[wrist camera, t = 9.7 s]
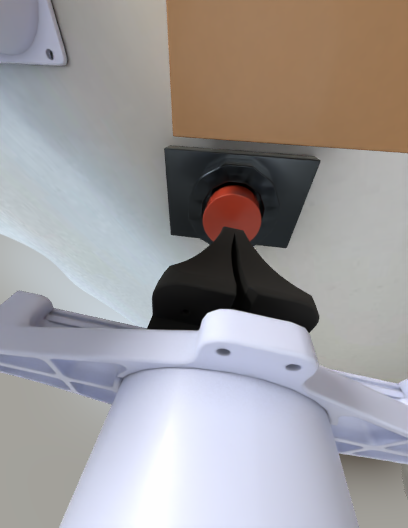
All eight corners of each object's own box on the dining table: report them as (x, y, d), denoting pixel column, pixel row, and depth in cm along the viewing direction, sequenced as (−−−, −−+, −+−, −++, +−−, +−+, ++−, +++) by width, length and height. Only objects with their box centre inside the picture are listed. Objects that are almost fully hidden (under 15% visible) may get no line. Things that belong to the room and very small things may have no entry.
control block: (174, 228, 21) (165, 245, 19) (169, 145, 16) (155, 153, 14) (284, 240, 20) (290, 260, 18) (315, 156, 15) (331, 166, 13)
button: (204, 231, 18) (201, 244, 16) (207, 182, 15) (203, 191, 13) (253, 237, 17) (254, 250, 16) (265, 187, 14) (268, 197, 13)
